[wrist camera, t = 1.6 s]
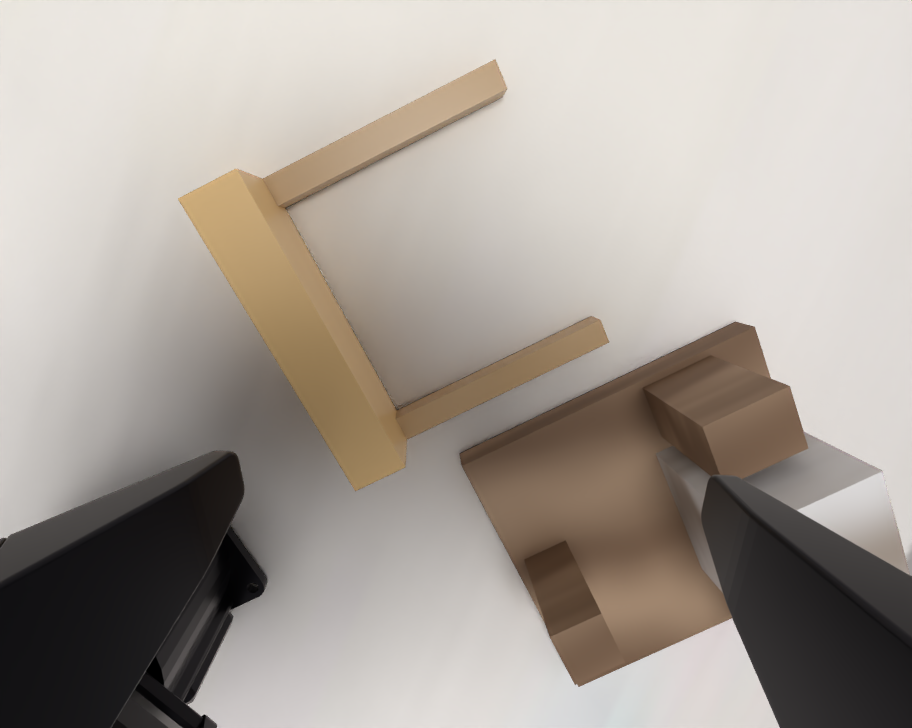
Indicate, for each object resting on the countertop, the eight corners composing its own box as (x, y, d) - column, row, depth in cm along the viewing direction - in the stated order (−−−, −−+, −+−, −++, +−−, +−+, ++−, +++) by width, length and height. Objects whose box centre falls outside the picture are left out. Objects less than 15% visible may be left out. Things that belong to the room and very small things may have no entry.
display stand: (459, 453, 21) (478, 554, 14) (735, 321, 21) (891, 361, 14) (571, 665, 24) (629, 829, 18) (811, 556, 24) (967, 682, 17)
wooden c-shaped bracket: (223, 206, 18) (177, 198, 15) (491, 69, 17) (508, 27, 14) (365, 450, 21) (355, 491, 17) (600, 337, 20) (636, 356, 17)
